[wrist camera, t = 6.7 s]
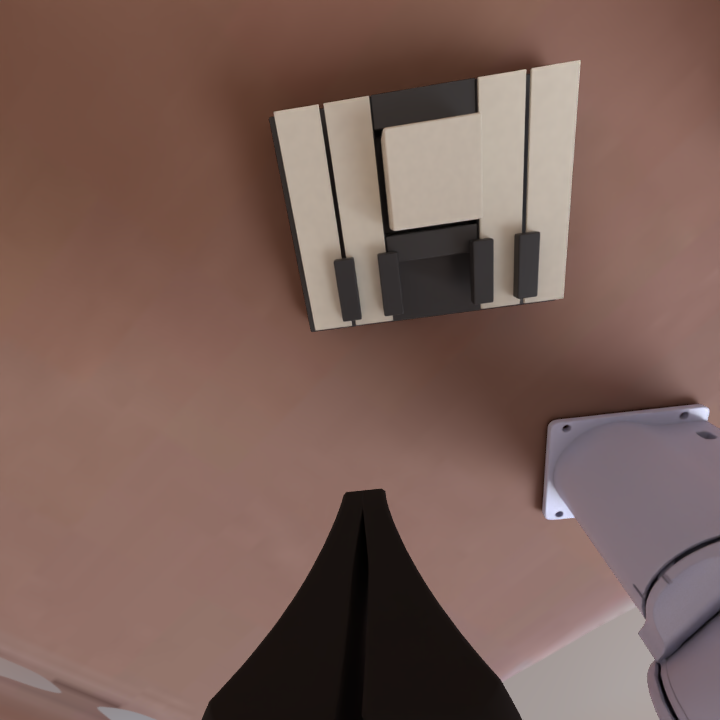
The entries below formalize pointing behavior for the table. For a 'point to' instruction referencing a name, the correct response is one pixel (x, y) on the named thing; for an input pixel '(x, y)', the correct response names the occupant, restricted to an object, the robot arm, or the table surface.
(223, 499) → the table surface
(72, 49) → the table surface
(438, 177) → the square cream block
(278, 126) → the piano keys trim
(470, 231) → the toy piano
